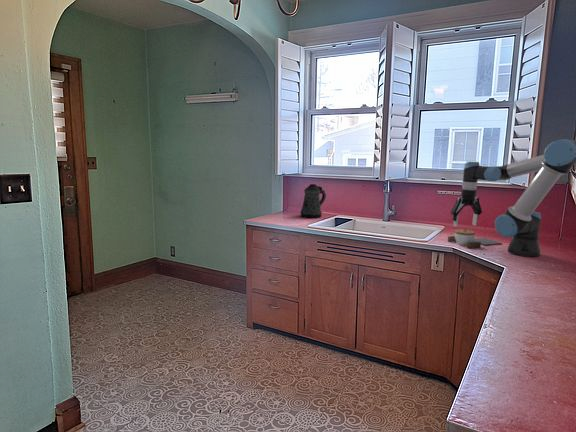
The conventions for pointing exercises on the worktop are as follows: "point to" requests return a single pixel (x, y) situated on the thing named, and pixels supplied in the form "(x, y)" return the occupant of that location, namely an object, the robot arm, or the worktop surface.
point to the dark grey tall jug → (312, 202)
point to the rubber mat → (486, 241)
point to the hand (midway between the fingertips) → (464, 226)
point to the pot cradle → (469, 245)
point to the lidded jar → (464, 236)
